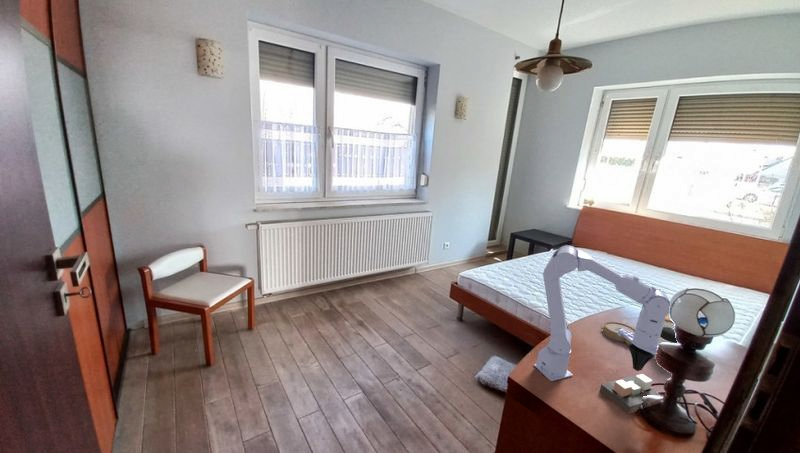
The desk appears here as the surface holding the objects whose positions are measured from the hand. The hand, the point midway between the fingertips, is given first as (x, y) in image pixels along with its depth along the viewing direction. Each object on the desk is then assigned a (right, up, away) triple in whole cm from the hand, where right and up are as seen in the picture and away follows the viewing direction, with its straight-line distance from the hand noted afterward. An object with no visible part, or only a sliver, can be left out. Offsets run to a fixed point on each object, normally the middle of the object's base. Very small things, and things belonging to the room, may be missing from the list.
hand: (637, 368), depth 92 cm
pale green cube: (0, -9, +2) cm, 9 cm away
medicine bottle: (+27, -6, +22) cm, 35 cm away
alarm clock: (+21, -3, +34) cm, 40 cm away
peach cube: (-5, -7, 0) cm, 9 cm away
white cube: (+4, -7, +3) cm, 9 cm away
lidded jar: (+42, -2, +40) cm, 58 cm away
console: (0, -10, +3) cm, 10 cm away
